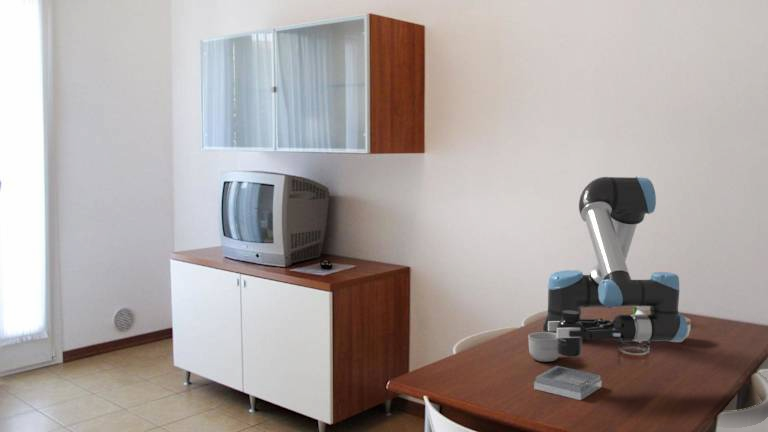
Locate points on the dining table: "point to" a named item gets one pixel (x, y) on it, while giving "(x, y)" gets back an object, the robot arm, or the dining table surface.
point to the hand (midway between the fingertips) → (552, 329)
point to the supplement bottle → (569, 344)
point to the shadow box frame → (568, 382)
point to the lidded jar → (687, 331)
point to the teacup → (543, 346)
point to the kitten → (641, 310)
